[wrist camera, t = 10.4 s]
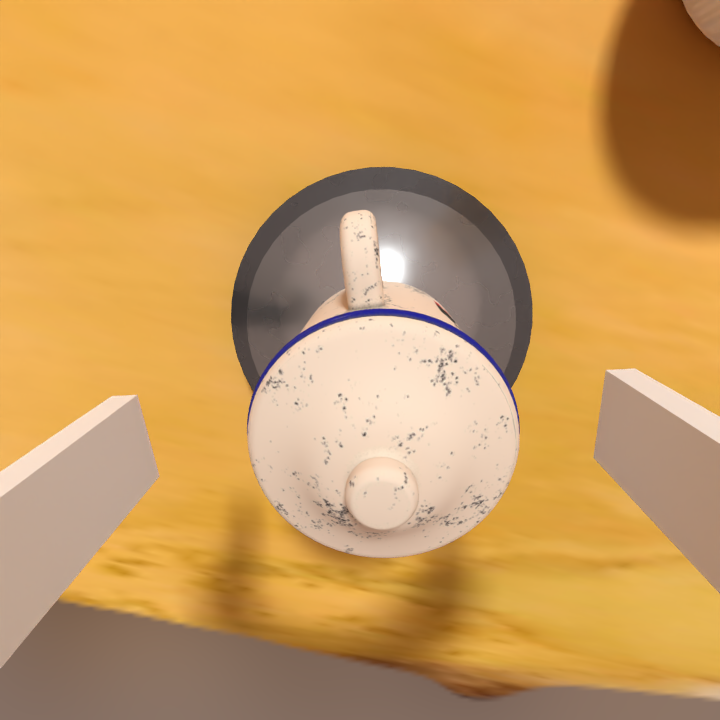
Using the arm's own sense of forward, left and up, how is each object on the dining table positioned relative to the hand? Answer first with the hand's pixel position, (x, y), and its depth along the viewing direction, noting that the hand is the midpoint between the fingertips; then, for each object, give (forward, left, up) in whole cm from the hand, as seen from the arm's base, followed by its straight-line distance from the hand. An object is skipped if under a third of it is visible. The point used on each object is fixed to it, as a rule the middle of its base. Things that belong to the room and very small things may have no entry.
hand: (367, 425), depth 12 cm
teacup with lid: (0, 0, -10) cm, 10 cm away
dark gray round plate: (0, 0, -13) cm, 13 cm away
